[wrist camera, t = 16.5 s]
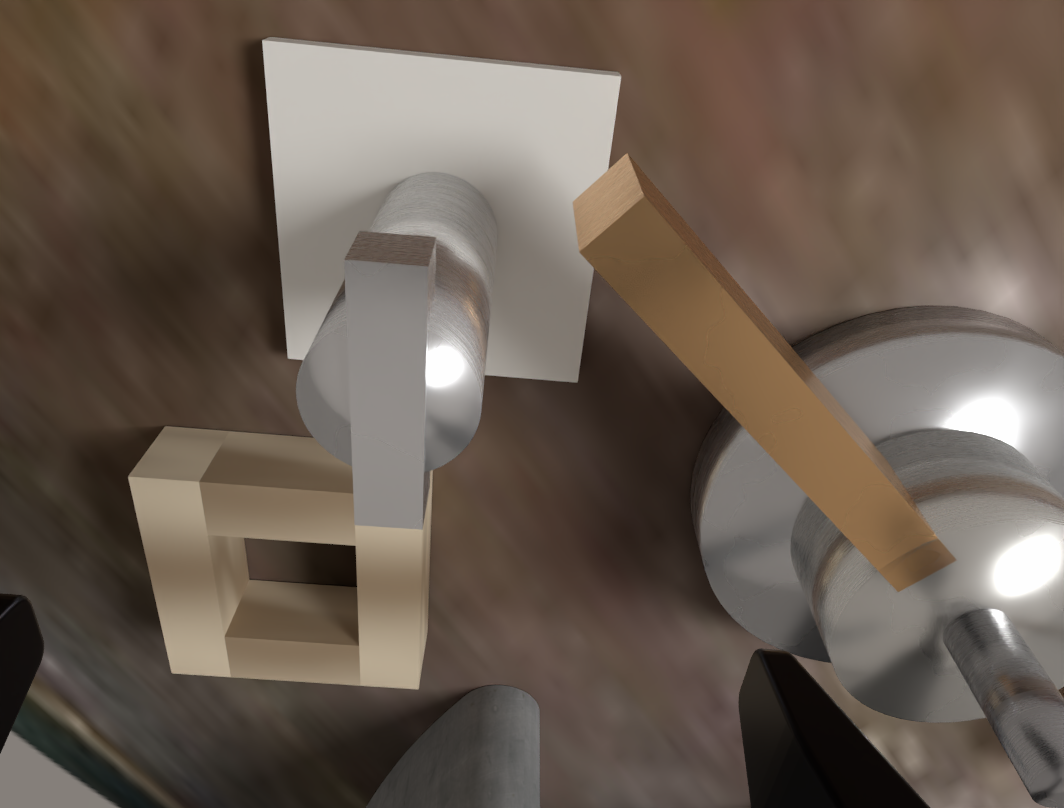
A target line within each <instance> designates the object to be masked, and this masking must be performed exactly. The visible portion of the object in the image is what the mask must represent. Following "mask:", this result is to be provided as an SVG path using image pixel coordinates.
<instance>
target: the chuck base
mask: <svg viewBox="0 0 1064 808" xmlns="http://www.w3.org/2000/svg"><path fill="white" fill-rule="evenodd" d="M792 349H793V350H794V351H795V352H796V353H797V354H798V356H799V357H800V358H801V359H802V360H803V362H804V363H805V364H806V365H807V366H808V367H809V369H810V370H811V371H812V372H813V373H814V375H815V376H816V377H817V378H818V379H819V380H820V382H821V383H822V384H823V385H824V386H825V388H826V389H827V390H828V391H829V392H830V393H831V395H832V396H833V397H834V398H835V399H836V401H837V402H838V403H839V404H840V405H841V406H842V408H843V409H844V410H845V411H846V412H847V414H848V415H849V416H850V417H851V418H852V419H853V421H854V422H855V423H856V424H857V425H858V427H859V428H860V429H861V430H862V431H863V432H864V434H865V435H866V436H867V437H868V438H869V440H870V441H871V442H872V443H873V444H874V445H878V444H880V443H882V442H885V441H888V440H891V439H894V438H897V437H900V436H904V435H909V434H913V433H918V432H925V431H933V430H962V431H972V432H976V433H981V434H985V435H989V436H991V437H994V438H997V439H1000V440H1002V441H1004V442H1006V443H1007V444H1009V445H1011V446H1013V447H1014V448H1016V449H1017V450H1018V451H1019V452H1021V453H1022V454H1023V455H1024V456H1025V457H1026V458H1027V459H1028V460H1029V461H1030V462H1031V463H1032V464H1033V465H1034V466H1035V468H1036V469H1037V470H1038V471H1039V472H1040V473H1041V474H1042V475H1043V476H1044V477H1045V478H1046V480H1047V481H1048V482H1049V483H1050V484H1051V485H1052V486H1053V487H1054V488H1055V489H1056V490H1057V491H1058V493H1059V494H1060V495H1061V496H1062V497H1063V498H1064V353H1063V352H1062V351H1060V350H1059V349H1058V348H1057V347H1056V346H1054V345H1053V344H1052V343H1051V342H1049V341H1048V340H1046V339H1045V338H1043V337H1042V336H1041V335H1039V334H1038V333H1036V332H1035V331H1033V330H1032V329H1030V328H1028V327H1026V326H1024V325H1022V324H1020V323H1018V322H1015V321H1013V320H1011V319H1009V318H1006V317H1003V316H999V315H996V314H993V313H989V312H986V311H981V310H975V309H968V308H962V307H950V306H921V307H910V308H899V309H894V310H889V311H884V312H879V313H874V314H869V315H866V316H863V317H860V318H856V319H853V320H850V321H847V322H844V323H841V324H838V325H836V326H834V327H831V328H829V329H827V330H824V331H822V332H820V333H818V334H815V335H813V336H811V337H809V338H807V339H806V340H804V341H802V342H800V343H799V344H797V345H795V346H793V347H792ZM807 498H808V496H807V495H806V494H805V492H804V491H803V490H802V489H801V488H800V487H799V486H798V485H797V484H796V483H795V482H794V481H793V480H792V479H791V478H790V476H789V475H788V474H787V473H786V472H785V471H784V470H783V469H782V468H781V467H780V466H779V465H778V464H777V463H776V462H775V460H774V459H773V458H772V457H771V456H770V455H769V454H768V453H767V452H766V451H765V450H764V449H763V448H762V447H761V446H760V444H759V443H758V442H757V441H756V440H755V439H754V438H753V437H752V436H751V435H750V434H749V433H748V432H747V431H746V430H745V428H744V427H743V426H742V425H741V424H740V423H739V422H738V421H737V420H736V419H735V418H734V417H733V416H732V415H731V414H730V412H729V411H728V410H727V409H726V408H725V407H724V408H723V409H722V411H721V412H720V414H719V415H718V417H717V418H716V420H715V421H714V423H713V424H712V425H711V427H710V429H709V431H708V433H707V435H706V437H705V439H704V441H703V443H702V445H701V447H700V450H699V453H698V456H697V459H696V462H695V465H694V469H693V475H692V481H691V487H690V509H691V515H692V521H693V526H694V530H695V534H696V538H697V542H698V546H699V549H700V553H701V557H702V561H703V565H704V569H705V572H706V574H707V577H708V580H709V583H710V586H711V588H712V590H713V591H714V593H715V595H716V597H717V598H718V600H719V602H720V604H721V605H722V606H723V607H724V608H725V610H726V611H727V612H728V613H729V614H730V616H731V617H732V618H733V619H734V620H735V621H737V622H738V623H739V624H740V625H741V626H742V627H743V628H745V629H746V630H747V631H748V632H750V633H751V634H753V635H754V636H756V637H758V638H759V639H761V640H762V641H764V642H766V643H768V644H770V645H772V646H774V647H776V648H778V649H781V650H784V651H787V652H789V653H792V654H795V655H798V656H801V657H804V658H809V659H813V660H818V661H823V662H830V663H832V662H831V660H830V657H829V655H828V652H827V650H826V647H825V645H824V642H823V640H822V637H821V635H820V632H819V630H818V627H817V625H816V622H815V620H814V617H813V615H812V612H811V610H810V607H809V605H808V602H807V600H806V597H805V595H804V592H803V590H802V587H801V585H800V582H799V580H798V577H797V575H796V572H795V570H794V567H793V564H792V559H791V553H790V540H791V535H792V529H793V526H794V523H795V520H796V518H797V515H798V513H799V511H800V510H801V508H802V506H803V504H804V502H805V501H806V500H807Z"/></svg>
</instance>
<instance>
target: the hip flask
mask: <svg viewBox="0 0 1064 808" xmlns="http://www.w3.org/2000/svg"><path fill="white" fill-rule="evenodd" d="M366 808H540V710H539V707H538V704H537V702H536V701H535V700H534V699H533V698H532V696H530V695H529V694H527V693H526V692H524V691H522V690H520V689H518V688H514V687H511V686H505V685H490V686H484V687H480V688H478V689H475V690H473V691H471V692H470V693H468V694H466V695H465V696H464V697H463V698H462V699H460V700H459V701H458V702H457V703H456V704H455V705H453V706H452V707H451V708H450V709H449V710H448V711H446V712H445V713H444V714H443V715H442V716H441V717H440V718H439V719H438V720H437V721H435V722H434V723H433V724H432V725H431V726H430V727H429V728H428V729H427V730H426V731H425V732H424V733H423V734H422V735H421V736H420V737H419V738H418V740H417V741H416V742H415V743H414V744H413V745H412V746H411V747H410V748H409V749H408V751H407V752H406V753H405V754H404V755H403V756H402V758H401V759H400V760H399V761H398V762H397V764H396V765H395V766H394V767H393V769H392V770H391V771H390V773H389V774H388V775H387V777H386V778H385V779H384V781H383V782H382V784H381V785H380V787H379V788H378V789H377V791H376V792H375V794H374V795H373V797H372V798H371V800H370V802H369V803H368V805H367V806H366Z"/></svg>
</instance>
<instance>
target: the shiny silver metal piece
mask: <svg viewBox="0 0 1064 808" xmlns="http://www.w3.org/2000/svg"><path fill="white" fill-rule="evenodd" d="M497 239H498V229H497V222H496V218H495V215H494V212H493V210H492V208H491V206H490V204H489V203H488V201H487V200H486V198H485V197H484V196H483V194H482V193H481V192H480V191H479V190H478V189H477V188H475V187H474V186H473V185H472V184H470V183H469V182H467V181H465V180H463V179H461V178H459V177H457V176H454V175H450V174H447V173H440V172H428V173H421V174H417V175H414V176H411V177H409V178H407V179H405V180H403V181H402V182H400V183H399V184H398V185H396V186H395V187H394V188H393V189H392V190H391V191H390V192H389V194H388V195H387V196H386V198H385V199H384V201H383V203H382V205H381V207H380V209H379V211H378V213H377V215H376V217H375V219H374V221H373V223H372V225H371V227H370V229H369V231H359V233H358V234H357V236H356V238H355V240H354V242H353V244H352V246H351V248H350V249H349V251H348V253H347V255H346V257H345V259H344V269H345V279H344V281H343V283H342V285H341V287H340V289H339V291H338V293H337V295H336V297H335V299H334V301H333V303H332V305H331V307H330V309H329V311H328V313H327V315H326V317H325V319H324V321H323V323H322V325H321V327H320V329H319V331H318V333H317V335H316V337H315V339H314V341H313V343H312V345H311V347H310V348H309V350H308V352H307V354H306V356H305V358H304V360H303V362H302V364H301V367H300V370H299V373H298V377H297V383H296V398H297V404H298V408H299V411H300V414H301V417H302V419H303V421H304V423H305V425H306V427H307V429H308V430H309V432H310V433H311V435H312V436H313V437H314V438H315V439H316V441H317V442H318V443H319V444H320V445H321V446H322V447H323V448H324V449H325V450H326V451H328V452H329V453H330V454H332V455H333V456H334V457H336V458H337V459H339V460H341V461H342V462H344V463H346V464H348V465H350V466H352V473H353V498H354V524H355V525H359V526H374V527H390V528H405V529H420V530H423V524H424V518H425V512H426V506H427V500H428V495H429V489H430V471H431V470H434V469H436V468H438V467H441V466H443V465H445V464H446V463H448V462H449V461H451V460H453V459H454V458H455V457H456V456H458V455H459V454H460V453H461V452H462V451H463V450H464V449H465V448H466V447H467V445H468V444H469V442H470V441H471V440H472V438H473V436H474V434H475V432H476V430H477V428H478V424H479V421H480V416H481V410H482V399H483V388H484V378H485V367H486V356H487V346H488V335H489V324H490V314H491V303H492V292H493V282H494V271H495V260H496V250H497Z"/></svg>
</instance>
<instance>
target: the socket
mask: <svg viewBox="0 0 1064 808" xmlns="http://www.w3.org/2000/svg"><path fill="white" fill-rule="evenodd" d="M432 477H433V470H431V471H430V489H429V495H428V500H427V506H426V512H425V518H424V524H423V530H420V529H405V528H390V527H374V526H359V525H355V524H354V498H353V473H352V466H350V465H348V464H346V463H344V462H342V461H341V460H339V459H337V458H336V457H334V456H333V455H332V454H330V453H329V452H328V451H326V450H325V449H324V448H323V447H322V446H321V445H320V444H319V443H318V442H317V441H316V439H315V438H310V437H298V436H285V435H272V434H260V433H247V432H234V431H222V430H209V429H196V428H184V427H171V426H165V427H164V429H163V430H162V431H161V433H160V434H159V435H158V437H157V438H156V439H155V441H154V442H153V443H152V445H151V446H150V447H149V449H148V450H147V451H146V453H145V454H144V455H143V457H142V458H141V460H140V461H139V462H138V464H137V465H136V466H135V468H134V469H133V470H132V472H131V473H130V474H129V476H128V479H129V484H130V488H131V493H132V497H133V502H134V506H135V511H136V515H137V520H138V524H139V529H140V533H141V537H142V542H143V546H144V551H145V555H146V560H147V564H148V569H149V573H150V578H151V582H152V587H153V591H154V596H155V600H156V605H157V609H158V614H159V618H160V623H161V627H162V632H163V636H164V641H165V645H166V650H167V654H168V659H169V663H170V668H171V672H172V673H175V674H190V675H206V676H221V677H236V678H252V679H267V680H282V681H298V682H313V683H329V684H344V685H359V686H375V687H390V688H405V689H419V683H420V676H421V670H422V663H423V657H424V650H425V644H426V637H427V631H428V601H429V570H430V539H431V508H432ZM244 538H257V539H270V540H284V541H298V542H311V543H325V544H339V545H352V546H356V568H357V587H346V586H331V585H317V584H303V583H289V582H275V581H261V580H249V573H248V565H247V558H246V550H245V542H244Z"/></svg>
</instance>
